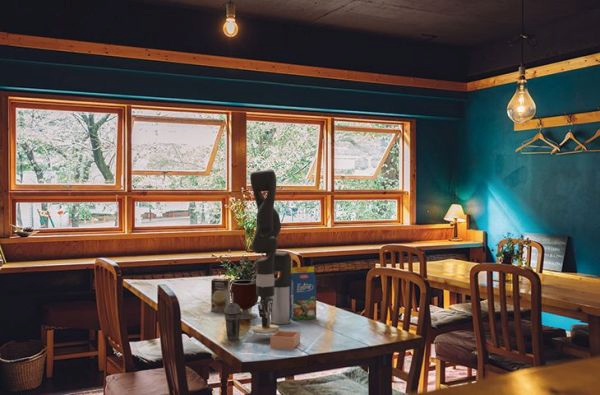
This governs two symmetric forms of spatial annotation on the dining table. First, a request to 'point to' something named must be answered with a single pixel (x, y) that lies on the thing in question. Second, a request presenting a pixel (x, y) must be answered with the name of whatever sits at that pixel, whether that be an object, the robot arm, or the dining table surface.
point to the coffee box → (220, 294)
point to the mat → (259, 339)
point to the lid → (268, 329)
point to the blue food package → (302, 293)
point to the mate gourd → (245, 296)
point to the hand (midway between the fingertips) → (265, 325)
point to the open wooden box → (285, 339)
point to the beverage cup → (232, 320)
